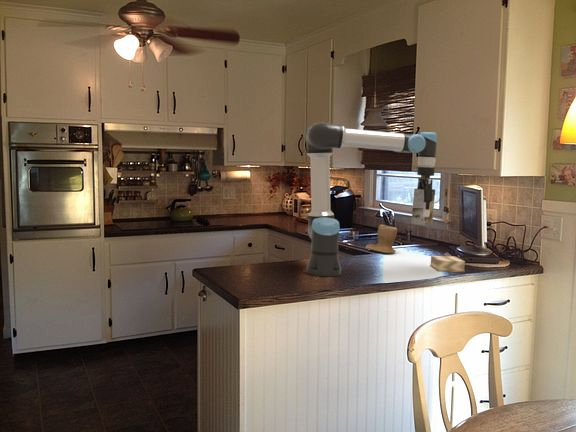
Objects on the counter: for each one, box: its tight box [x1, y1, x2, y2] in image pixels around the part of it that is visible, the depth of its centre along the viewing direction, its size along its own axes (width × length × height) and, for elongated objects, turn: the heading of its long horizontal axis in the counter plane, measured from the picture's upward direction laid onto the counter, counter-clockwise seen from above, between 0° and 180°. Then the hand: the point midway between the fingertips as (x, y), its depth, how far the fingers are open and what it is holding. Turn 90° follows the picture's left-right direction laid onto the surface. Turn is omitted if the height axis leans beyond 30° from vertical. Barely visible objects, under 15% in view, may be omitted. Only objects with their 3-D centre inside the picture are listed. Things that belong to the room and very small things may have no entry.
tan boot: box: [365, 224, 398, 254], centre depth 298 cm, size 15×12×15 cm
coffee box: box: [410, 188, 436, 226], centre depth 252 cm, size 9×6×16 cm
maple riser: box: [429, 255, 466, 273], centre depth 259 cm, size 12×12×5 cm
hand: (422, 215), depth 252 cm, fingers closed on coffee box, 10 cm apart
